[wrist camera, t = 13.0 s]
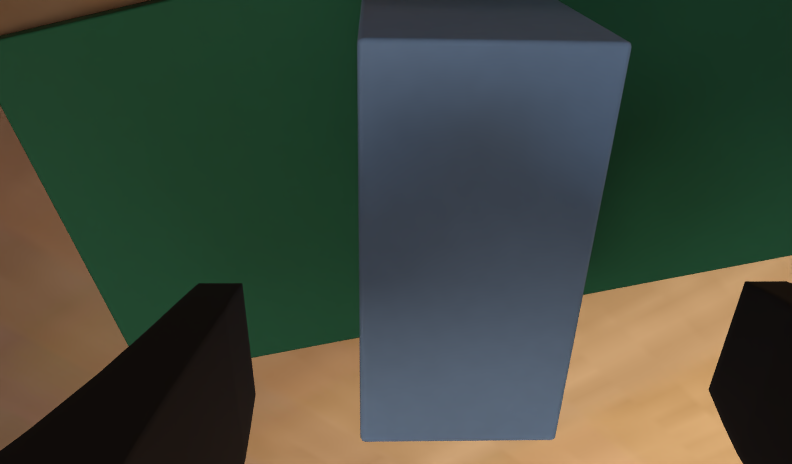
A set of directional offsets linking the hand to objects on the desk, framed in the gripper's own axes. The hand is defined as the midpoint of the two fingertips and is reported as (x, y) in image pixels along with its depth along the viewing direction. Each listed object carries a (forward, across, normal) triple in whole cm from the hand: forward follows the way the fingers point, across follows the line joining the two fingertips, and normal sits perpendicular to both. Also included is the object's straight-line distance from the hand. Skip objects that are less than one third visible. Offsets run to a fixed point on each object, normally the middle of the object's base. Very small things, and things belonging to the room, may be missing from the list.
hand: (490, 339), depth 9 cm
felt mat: (+8, 0, 0) cm, 8 cm away
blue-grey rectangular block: (+7, 0, 0) cm, 7 cm away
